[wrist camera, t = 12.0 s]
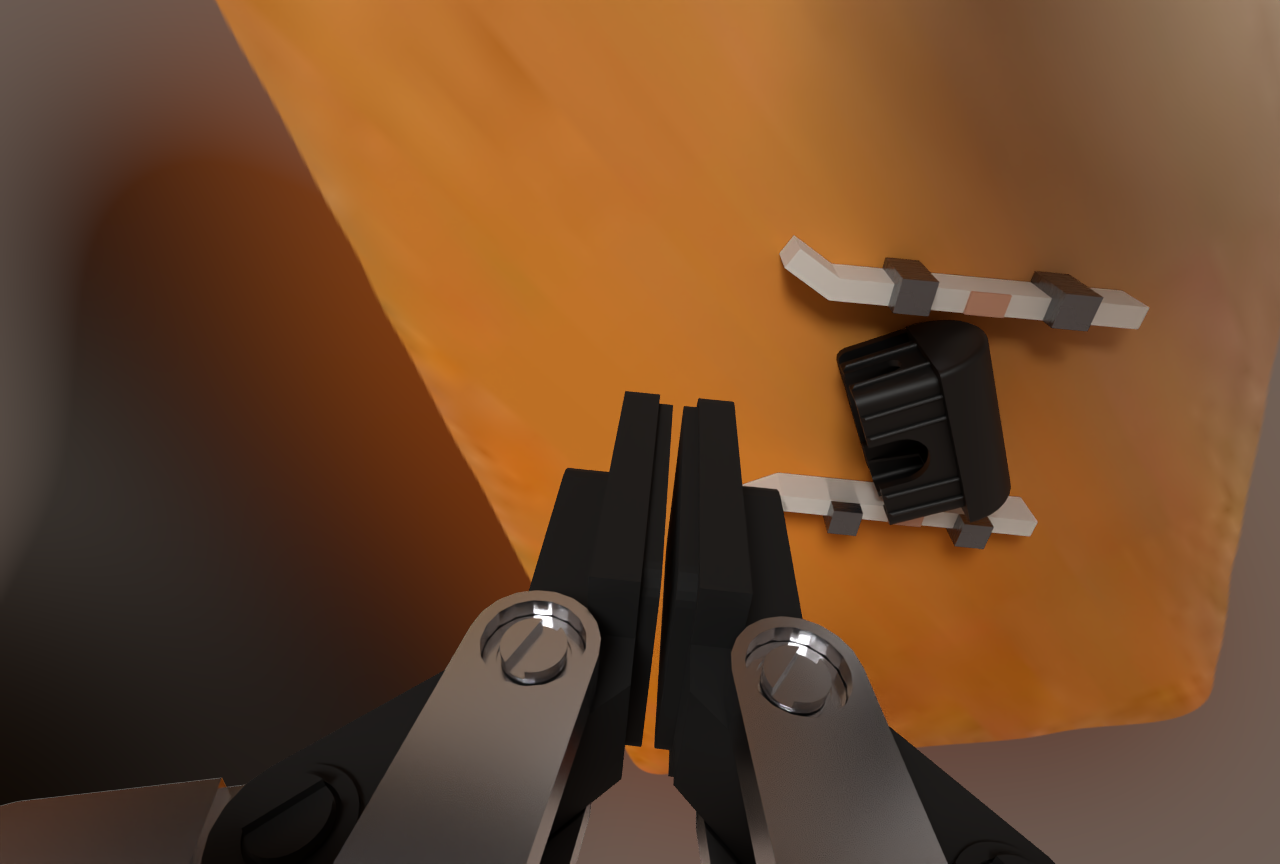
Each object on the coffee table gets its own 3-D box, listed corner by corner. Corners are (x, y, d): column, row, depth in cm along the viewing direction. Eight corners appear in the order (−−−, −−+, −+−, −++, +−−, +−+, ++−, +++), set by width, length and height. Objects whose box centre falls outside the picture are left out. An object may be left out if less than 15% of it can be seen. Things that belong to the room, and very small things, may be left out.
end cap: (983, 442, 41) (1030, 510, 35) (869, 473, 43) (896, 543, 37) (958, 301, 36) (1008, 353, 30) (831, 343, 38) (855, 399, 32)
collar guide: (782, 234, 35) (790, 253, 32) (1134, 266, 34) (1175, 288, 31) (733, 498, 44) (735, 532, 41) (1006, 526, 44) (1028, 562, 41)
